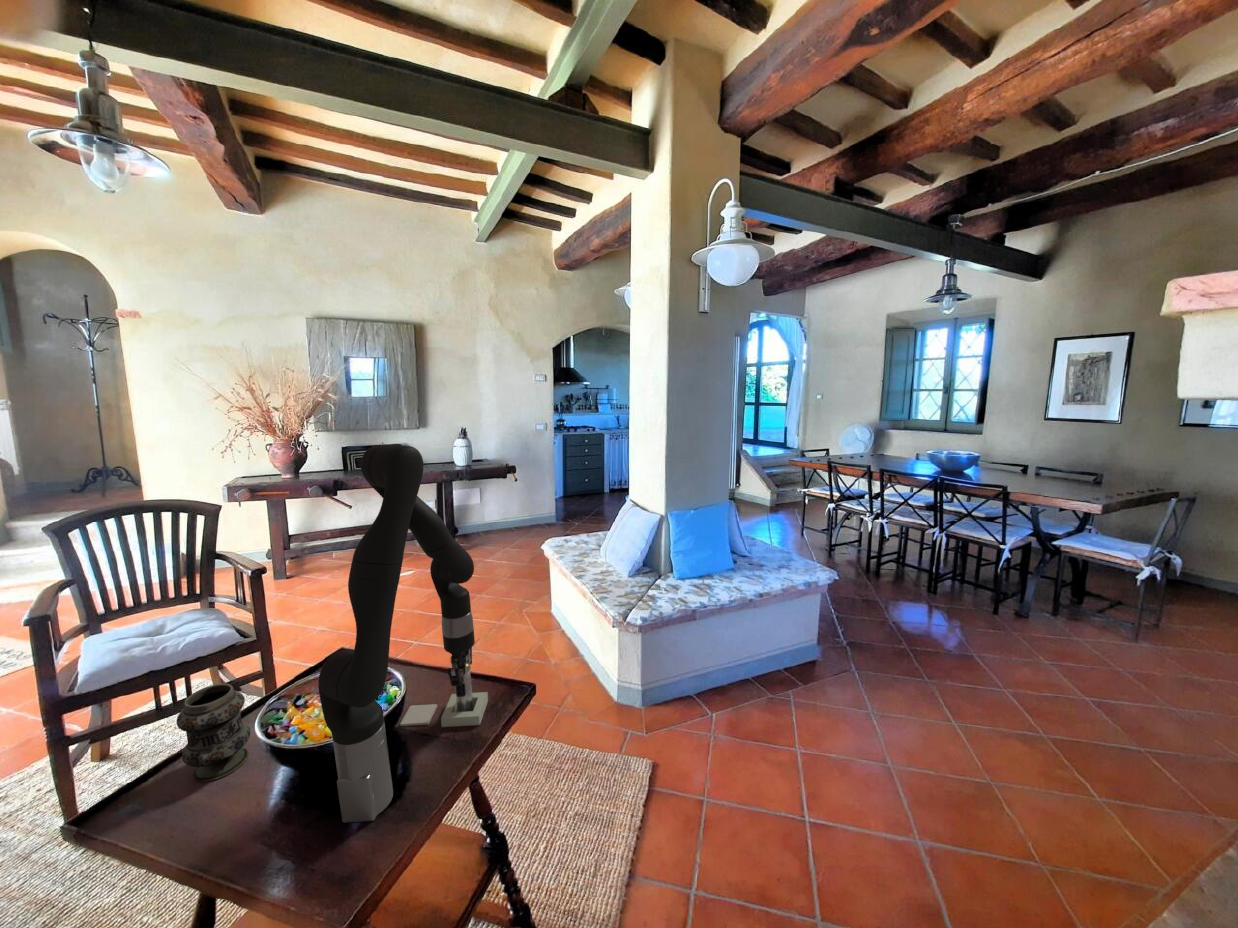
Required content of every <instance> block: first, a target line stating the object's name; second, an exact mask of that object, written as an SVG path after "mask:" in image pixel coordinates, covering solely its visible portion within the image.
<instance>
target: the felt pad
mask: <svg viewBox="0 0 1238 928" xmlns="http://www.w3.org/2000/svg"><path fill="white" fill-rule="evenodd" d="M437 708H438V704H437V703H434V704H433V703H432V704H417V705H410V706H409V708H408V709H407V710H406V713H405V714H404V716H403V717H402V720H401V722H400V723H399V726H400V727H410V726H423V725H424V726H426V725H427V726H428V725H429V724H430V723H431V720H432V718H433V716H434V713H435V712H436V710H437Z"/></svg>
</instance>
